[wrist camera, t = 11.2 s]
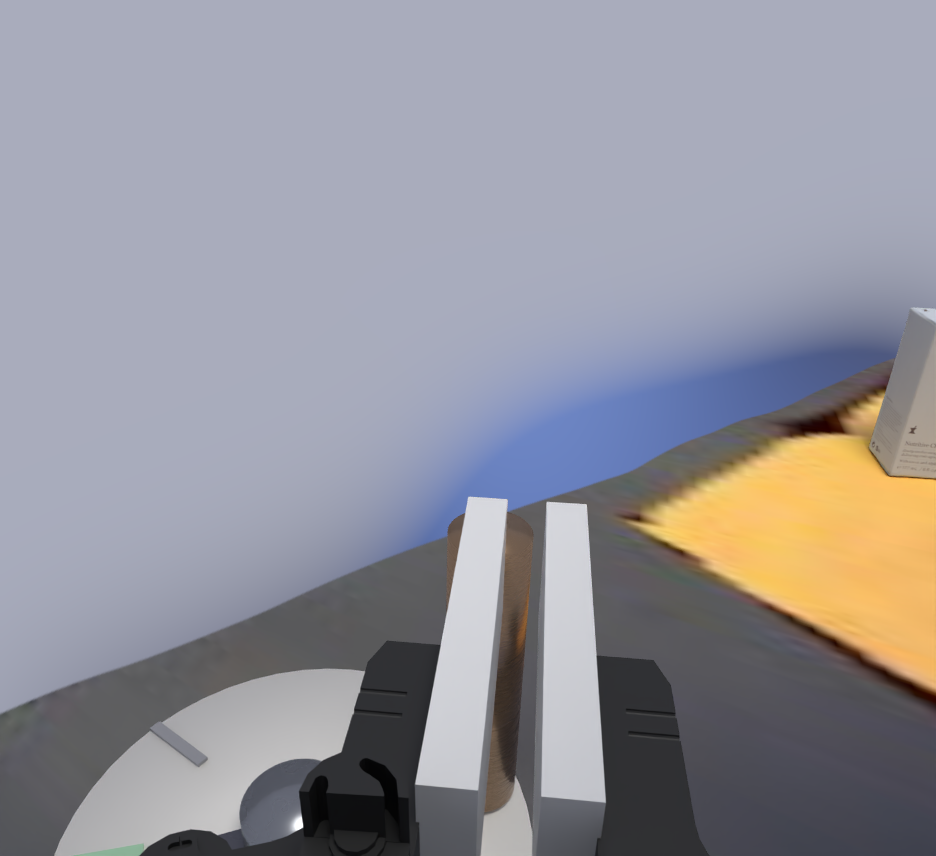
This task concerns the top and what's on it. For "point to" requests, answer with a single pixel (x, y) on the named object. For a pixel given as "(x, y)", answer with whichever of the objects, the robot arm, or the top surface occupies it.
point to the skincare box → (910, 403)
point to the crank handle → (277, 789)
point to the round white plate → (236, 766)
